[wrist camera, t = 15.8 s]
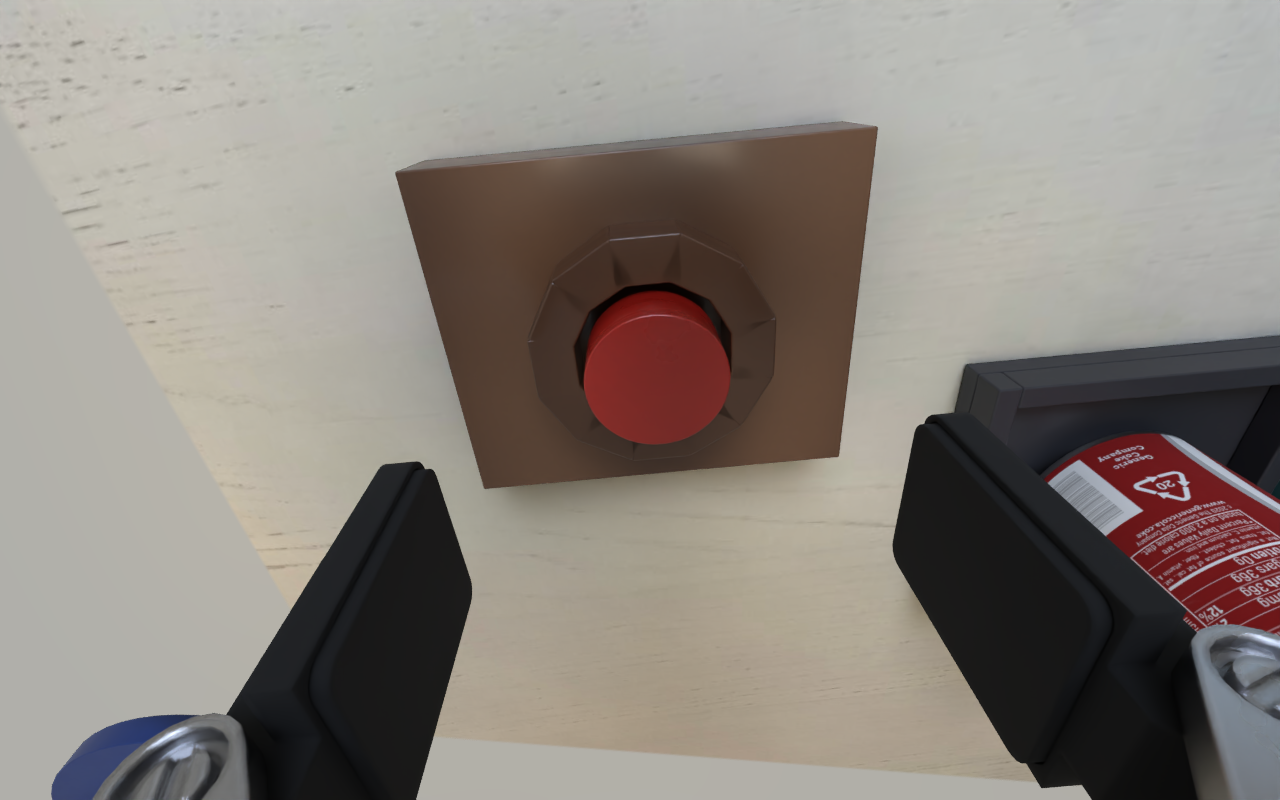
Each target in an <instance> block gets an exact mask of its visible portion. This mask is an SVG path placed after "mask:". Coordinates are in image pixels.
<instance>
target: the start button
mask: <svg viewBox="0 0 1280 800" xmlns="http://www.w3.org/2000/svg"><path fill="white" fill-rule="evenodd" d="M730 379H731V374H730V366H729V361H728V358H727V355H726V353H725V350H724V348H723V346H722V343H721V341H720V338H719V336H718V334H717V331H716V329H715V327H714V325H713V323H712V321H711V319H710V318H709V316H708V315H707V314H706V313H705V311H703V310H702V309H701V308H700V307H699V306H698V305H697V304H695V303H694V302H693V301H691V300H689V299H687V298H685V297H683V296H681V295H678V294H675V293H671V292H667V291H644V292H639V293H635V294H632V295H629V296H627V297H624V298H622V299H620V300H619V301H617V302H615V303H614V304H612V305H611V306H610V307H609V308H607V309H606V310H605V311H604V312H603V313H602V315H601V316H600V317H599V318H598V320H597V321H596V323H595V325H594V326H593V328H592V330H591V333H590V336H589V339H588V344H587V352H586V361H585V371H584V391H585V395H586V399H587V402H588V404H589V406H590V408H591V410H592V412H593V414H594V415H595V416H596V417H597V419H598V420H599V421H600V422H601V423H602V424H603V425H604V426H605V427H606V428H607V429H609V430H610V431H611V432H613V433H615V434H616V435H618V436H620V437H622V438H624V439H627V440H630V441H633V442H637V443H642V444H667V443H672V442H676V441H680V440H683V439H685V438H688V437H690V436H692V435H694V434H696V433H697V432H699V431H700V430H702V429H703V428H704V427H706V426H707V425H708V424H709V423H710V422H711V421H712V420H713V419H714V418H715V417H716V416H717V414H718V413H719V411H720V410H721V408H722V406H723V405H724V403H725V401H726V398H727V395H728V392H729V387H730Z"/></svg>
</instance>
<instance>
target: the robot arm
mask: <svg viewBox="0 0 1280 800" xmlns="http://www.w3.org/2000/svg"><path fill="white" fill-rule="evenodd" d="M893 553H894V557H895V560H896V563H897V565H898V566H899V568H900V570H901V572H902V573H903V575H904V577H905V578H906V580H907V582H908V583H909V585H910V587H911V588H912V590H913V592H914V593H915V595H916V597H917V598H918V600H919V602H920V603H921V605H922V607H923V609H924V610H925V612H926V614H927V615H928V617H929V619H930V620H931V622H932V624H933V625H934V627H935V629H936V630H937V632H938V634H939V635H940V637H941V639H942V640H943V642H944V644H945V646H946V647H947V649H948V651H949V652H950V654H951V656H952V657H953V659H954V661H955V662H956V664H957V666H958V667H959V669H960V671H961V672H962V674H963V676H964V677H965V679H966V681H967V683H968V684H969V686H970V688H971V689H972V691H973V693H974V694H975V696H976V698H977V699H978V701H979V703H980V704H981V706H982V708H983V709H984V711H985V713H986V714H987V716H988V718H989V720H990V721H991V723H992V725H993V726H994V728H995V730H996V731H997V733H998V735H999V736H1000V738H1001V740H1002V741H1003V743H1004V745H1005V746H1006V748H1007V750H1008V751H1009V752H1010V754H1011V755H1012V756H1013V757H1014V758H1015V759H1016V760H1017V761H1018V762H1020V763H1026V764H1027V765H1028V767H1029V769H1030V770H1031V772H1032V774H1033V775H1034V777H1035V778H1036V780H1037V782H1038V783H1039V785H1040V787H1041V788H1049V787H1061V786H1073V785H1082V786H1083V787H1084V789H1085V790H1086V791H1087V793H1088V794H1089V796H1090V797H1091V799H1092V800H1280V636H1278V635H1275V634H1272V633H1269V632H1266V631H1264V630H1261V629H1255V628H1250V627H1245V626H1240V625H1212V626H1209V627H1206V628H1203V629H1201V630H1199V631H1198V632H1196V631H1195V630H1194V629H1193V628H1192V627H1191V626H1190V625H1189V624H1188V623H1186V622H1185V621H1184V620H1183V617H1184V615H1185V614H1186V612H1187V610H1186V609H1185V608H1184V607H1183V606H1182V605H1181V604H1180V603H1179V602H1178V601H1176V600H1175V599H1174V598H1173V597H1172V596H1171V595H1170V594H1169V593H1168V592H1167V591H1165V590H1164V589H1163V588H1162V587H1161V586H1160V585H1159V584H1158V583H1157V582H1156V581H1155V580H1153V579H1152V578H1151V577H1150V576H1149V575H1148V574H1147V573H1146V572H1145V571H1144V570H1142V569H1141V568H1140V567H1139V566H1138V565H1137V564H1136V563H1135V562H1134V561H1133V560H1131V559H1130V558H1129V557H1128V556H1127V555H1126V554H1125V553H1124V552H1123V551H1122V550H1120V549H1119V548H1118V547H1117V546H1116V545H1115V544H1114V543H1113V542H1112V541H1111V540H1109V539H1108V538H1107V537H1106V536H1105V535H1104V534H1103V533H1102V532H1101V531H1100V530H1099V529H1097V528H1096V527H1095V526H1094V525H1093V524H1092V523H1091V522H1090V521H1089V520H1088V519H1086V518H1085V517H1084V516H1083V515H1082V514H1081V513H1080V512H1079V511H1078V510H1077V509H1075V508H1074V507H1073V506H1072V505H1071V504H1070V503H1069V502H1068V501H1067V500H1066V499H1064V498H1063V497H1062V496H1061V495H1060V494H1059V493H1058V492H1057V491H1056V490H1055V489H1053V488H1052V487H1051V486H1050V485H1049V484H1048V483H1047V482H1046V481H1045V480H1044V479H1043V478H1041V477H1040V476H1039V475H1038V474H1037V473H1036V472H1035V471H1034V470H1033V469H1032V468H1030V467H1029V466H1028V465H1027V464H1026V463H1025V462H1024V461H1023V460H1022V459H1021V458H1019V457H1018V456H1017V455H1016V454H1015V453H1014V452H1013V451H1012V450H1011V449H1010V448H1008V447H1007V446H1006V445H1005V444H1004V443H1003V442H1002V441H1001V440H1000V439H999V438H997V437H996V436H995V435H994V434H993V433H992V432H991V431H990V430H989V429H988V428H987V427H985V426H984V425H983V424H982V423H981V422H980V421H979V420H978V419H977V418H976V417H974V416H973V415H972V414H970V413H968V412H959V413H948V414H937V415H931V416H929V417H928V418H927V419H926V421H925V423H924V424H922V425H919V426H918V427H917V428H916V430H915V433H914V438H913V443H912V448H911V453H910V458H909V463H908V468H907V473H906V478H905V484H904V489H903V494H902V499H901V504H900V509H899V514H898V519H897V524H896V529H895V534H894V539H893ZM471 599H472V583H471V579H470V576H469V573H468V570H467V567H466V564H465V561H464V558H463V555H462V552H461V549H460V546H459V543H458V540H457V537H456V534H455V531H454V528H453V525H452V522H451V519H450V516H449V513H448V510H447V507H446V504H445V501H444V497H443V494H442V491H441V488H440V485H439V482H438V479H437V476H436V474H435V472H434V471H433V470H432V469H425V468H424V466H423V465H422V464H421V463H420V462H406V463H395V464H385V465H382V466H381V467H380V469H379V470H378V471H377V473H376V475H375V476H374V478H373V480H372V481H371V483H370V484H369V486H368V488H367V489H366V491H365V492H364V494H363V496H362V497H361V499H360V501H359V502H358V504H357V505H356V507H355V509H354V510H353V512H352V513H351V515H350V517H349V518H348V520H347V522H346V523H345V525H344V526H343V528H342V530H341V531H340V533H339V534H338V536H337V538H336V539H335V541H334V543H333V544H332V546H331V547H330V549H329V551H328V552H327V554H326V556H325V557H324V558H323V560H322V561H321V563H320V564H319V566H318V568H317V569H316V571H315V573H314V574H313V576H312V577H311V579H310V581H309V582H308V584H307V585H306V587H305V589H304V590H303V592H302V594H301V595H300V597H299V598H298V600H297V602H296V603H295V605H294V606H293V608H292V610H291V611H290V613H289V614H288V616H287V618H286V619H285V621H284V623H283V624H282V626H281V627H280V629H279V631H278V632H277V634H276V636H275V637H274V639H273V640H272V642H271V644H270V645H269V647H268V648H267V650H266V652H265V653H264V655H263V657H262V658H261V660H260V661H259V663H258V665H257V666H256V668H255V669H254V671H253V673H252V674H251V676H250V678H249V679H248V681H247V682H246V684H245V686H244V687H243V689H242V690H241V692H240V694H239V695H238V697H237V698H236V700H235V702H234V703H233V705H232V707H231V708H230V710H229V712H228V713H227V715H223V714H215V713H212V714H206V715H201V716H195V717H192V718H189V719H187V720H184V721H182V722H179V723H177V724H175V725H172V726H170V727H168V728H167V729H165V730H164V731H162V732H160V733H159V734H157V735H155V736H154V737H152V738H150V739H149V740H147V741H146V742H145V743H144V744H142V745H141V746H140V747H139V748H137V749H136V750H135V751H134V752H133V753H131V754H130V755H129V756H128V757H126V758H125V759H124V760H123V761H122V762H121V763H120V764H119V766H118V767H117V768H116V769H115V770H114V771H113V772H112V773H111V774H110V775H109V776H108V777H107V779H106V780H105V781H104V782H103V784H102V785H101V787H100V788H99V790H98V791H97V793H96V794H95V796H94V797H93V799H92V800H416V798H417V794H418V790H419V787H420V783H421V780H422V776H423V772H424V769H425V765H426V762H427V758H428V754H429V751H430V747H431V744H432V740H433V737H434V733H435V729H436V726H437V722H438V719H439V715H440V712H441V708H442V704H443V701H444V697H445V694H446V690H447V686H448V683H449V679H450V676H451V672H452V669H453V665H454V661H455V658H456V654H457V651H458V647H459V643H460V640H461V636H462V633H463V629H464V626H465V622H466V618H467V615H468V611H469V608H470V604H471Z"/></svg>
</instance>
